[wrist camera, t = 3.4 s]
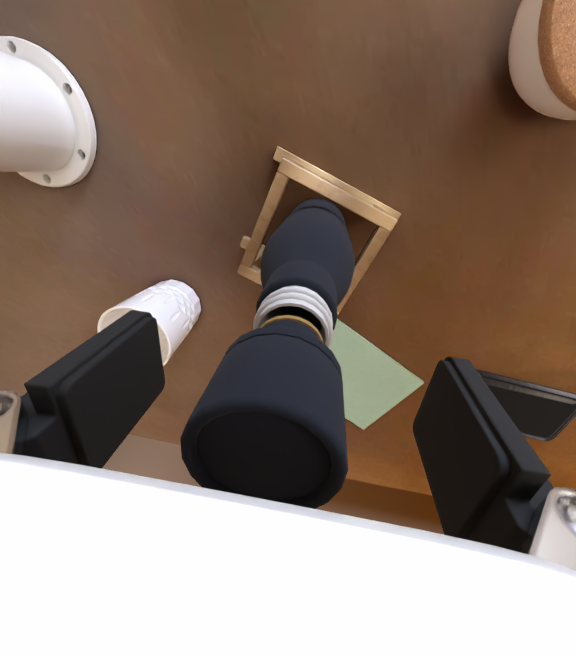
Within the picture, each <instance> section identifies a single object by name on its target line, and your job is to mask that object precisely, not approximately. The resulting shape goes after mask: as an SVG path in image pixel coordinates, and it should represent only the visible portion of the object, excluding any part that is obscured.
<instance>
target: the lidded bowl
mask: <svg viewBox="0 0 576 656" xmlns="http://www.w3.org/2000/svg"><path fill="white" fill-rule="evenodd" d="M508 63H509V71H510V76H511V79H512V82H513V86H514V87H515V89H516V91H517V93H518V95H519V96H520V97H521V98H522V99H523V101H524V102H525V103H526V104H527V105H528V106H530V107H531V108H532V109H534V110H535V111H537V112H539V113H541V114H544V115H546V116H549V117H553V118H559V119H564V120H576V0H521V3H520V5H519V8H518V10H517V13H516V17H515V20H514V24H513V27H512V31H511V36H510V42H509V55H508Z"/></svg>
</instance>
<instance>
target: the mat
mask: <svg viewBox="0 0 576 656" xmlns="http://www.w3.org/2000/svg"><path fill="white" fill-rule="evenodd" d="M328 348H329V349H330V350H331V351H332V352H333V354H334V355H335V357H336V359H337V361H338V363H339V365H340V366H341V373H342V381H343V395H344V412H345V418H346V419H348V420H349V421H351V422H352V423H354V424H355V425H357V426H358V427H360V428H362V429H363V430H364V429H365V428H366V427H368V426H369V425H370V424H372V423H373V422H374V421H376V420H377V419H378V418H379V417H381V416H382V415H383V414H385V413H386V412H387V411H389V410H390V409H391V408H392V407H394V406H395V405H396V404H398V403H399V402H400V401H401V400H403V399H404V398H405V397H407V396H408V395H409V394H411V393H412V392H413V391H414V390H416V389H417V388H418V387H420V386H421V385H422V384H424V381H423V380H421V379H420V378H419V377H417V376H416V375H414V374H413V373H412V372H410V371H409V370H408V369H406V368H405V367H403V366H402V365H401V364H399V363H398V362H396V361H395V360H394V359H392V358H391V357H390V356H388V355H387V354H385V353H384V352H383V351H381V350H380V349H379V348H377V347H376V346H374V345H373V344H372V343H370V342H369V341H367V340H366V339H365V338H363V337H362V336H361V335H359V334H358V333H356V332H355V331H354V330H352V329H351V328H349V327H348V326H347V325H345V324H344V323H343V322H341V321H340V320H338V319H337V321H336V325H335V329H334V330H333V336H332V340H331V344H330V346H329V347H328Z"/></svg>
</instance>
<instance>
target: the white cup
mask: <svg viewBox="0 0 576 656" xmlns="http://www.w3.org/2000/svg"><path fill="white" fill-rule="evenodd" d="M131 310H136V311H143V312H149V313H151V315H152V316H153V317H154V318H156V320H157V325H158V333H159V340H160V347H161V355H162V362H163V366H164V365H165V364H166V363H167V362H168V360H169V359H170V358H171V356H172V355H173V354H174V352H175V351H176V350H177V348H178V347H179V346H180V344H181V343H182V342H183V340H184V339H185V337H186V336H187V334H188V333H189V332H190V330H191V328H192V327H193V325H194V324H195V322H196V321H197V320H198V318H199V315H200V312H201V306H200V300H199V298H198V296H197V295H196V293H195V292H194V290H193V289H192V288H190V287H189V286H188V285H186V284H185V283H183V282H180V281H176V280H172V279H171V280H166V281H162V282H160V283H158V284H156V285H154V286H152V287H150V288H147V289H145V290H144V291H142V292H139V293H137V294H136V295H134V296H132V297H130V298H128V299H127V300H125V301H123V302H121V303H119V304H118V305H116V306H114V307H112V308H110V309H108V310H107V311H105V312H104V313H103V314H102V316H101V317H100V319H99V321H98V326H97V331H98V333H99V332H100V331H101V330H103V329H104V328H106V327H107V326H109V325H110V324H112V323H113V322H115V321H116V320H117V319H119V318H120V317H122V316H123V315H125V314H126V313H128V312H129V311H131Z"/></svg>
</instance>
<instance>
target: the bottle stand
mask: <svg viewBox="0 0 576 656" xmlns="http://www.w3.org/2000/svg"><path fill="white" fill-rule="evenodd" d="M273 159H274V160H276V161H278V162H279V163H280V165H279V168H278V172H277V173H276V175H275V178H274V180H273V183H272V185H271V188H270V191H269V193H268V196H267V198H266V201H265V203H264V206H263V208H262V211H261V213H260V216H259V218H258V221H257V223H256V226H255V228H254V231H253V233H252V236H251V238H249V237H247V236H244V237H243V238H242V241H241V243H240V247H242V248H244V249H246V251H245V253H244V256H243V258H242V261H241V264H240V266H239V268H238V271H237V274H239V275H242V276H244V277H246V278H248V279H250V280H252V281H254V282H256V283H258V284H260V285H262V283H261V269H260V268H258V267H256V265H257V264H258V262H259V261H260V260H261V258H262V253H263V250H264V248H265V245H263V241H264V239H265V237H266V234H267V232H268V229H269V227H270V225H271V222H272V220H273V218H274V215H275V213H276V211H277V208H278V206H279V203H280V201H281V199H282V196H283V194H284V192H285V189H286V187H287V184H288V182H289V180H290V178H291V179H292V180H294V181H296V182H298V183H300V184H302V185H304V186H306V187H307V188H309V189H311V190H313V191H315V192H317V193H319V194H320V195H322V196H324V197H326V198H328V199H330V200H332V201H333V202H335V203H337V204H339V205H341V206H343V207H345V208H346V209H348V210H350V211H352V212H354V213H356V214H358V215H359V216H361V217H363V218H365V219H367V220H369V221H371V222H372V223H374V224H376V225H377V226H376V228H375V230H374V231H373V233H372V235H371V236H370V238H369V240H368V241H367V243H366V245H365V246H364V248H363V250H362V251H361V253H360V254H359V256H358V258H357V259H356V261H355V269H354V273H353V277H352V281H351V285H350V288H349V290H348V292H347V294H346V295H345V297H344V298H343V300H342V302H341V303H340V304H339V305H338V306H337V314H339V312H340V311H341V309H342V308H343V306H344V305H345V303H346V302H347V300H348V298H349V297H350V295H351V294H352V292H353V291H354V289H355V287H356V286H357V284H358V283H359V281H360V280H361V278H362V276H363V275H364V273H365V272H366V270H367V269H368V267H369V265H370V264H371V262H372V261H373V259H374V258H375V256H376V254H377V253H378V251H379V250H380V248H381V247H382V245H383V243H384V242H385V240H386V239H387V237H388V236H389V234H390V232H391V231H392V229H393V228H394V226H395V224H396V223H397V221H398V218H399V217H400V215H401V213H399V212H398V211H396V210H394V209H392V208H390V207H388V206H387V205H385V204H383V203H381V202H379V201H377V200H376V199H374V198H372V197H370V196H368V195H366V194H365V193H363V192H361V191H359V190H357V189H356V188H354V187H352V186H350V185H348V184H346V183H345V182H343V181H341V180H339V179H337V178H335V177H334V176H332V175H330V174H328V173H326V172H324V171H323V170H321V169H319V168H317V167H315V166H314V165H312V164H310V163H308V162H306V161H304V160H303V159H301V158H299V157H297V156H295V155H293V154H292V153H290V152H288V151H286V150H284V149H283V148H281V147H279V146H278V147H277V149H276V152H275V154H274V157H273Z"/></svg>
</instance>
